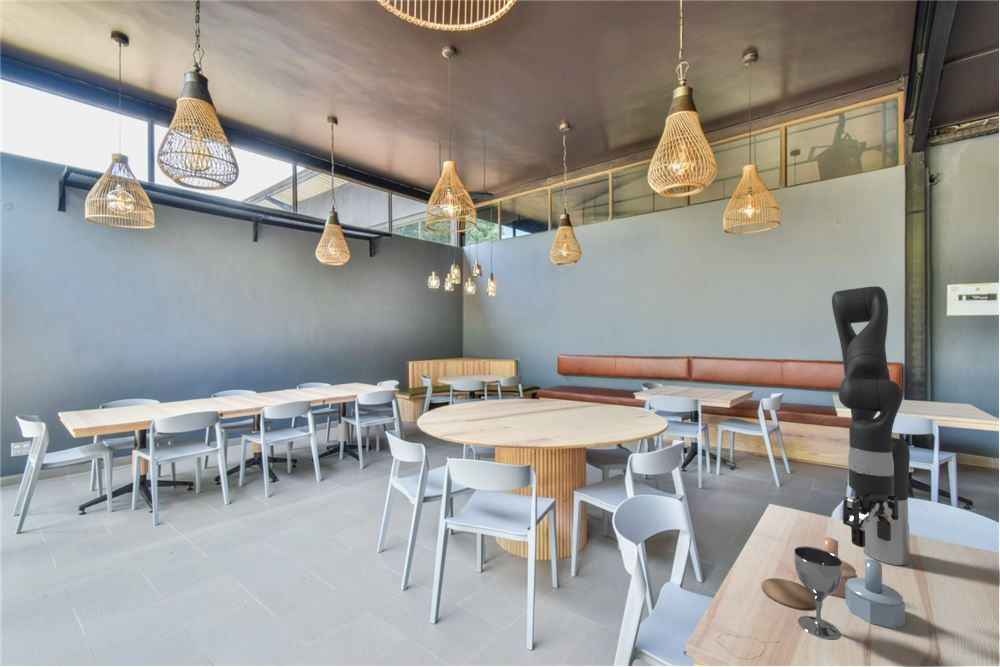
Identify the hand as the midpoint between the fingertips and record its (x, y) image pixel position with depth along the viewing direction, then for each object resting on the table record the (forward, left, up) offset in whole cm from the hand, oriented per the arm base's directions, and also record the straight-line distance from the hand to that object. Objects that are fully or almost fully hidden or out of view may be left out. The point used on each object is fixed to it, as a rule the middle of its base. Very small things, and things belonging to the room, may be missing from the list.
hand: (871, 542), depth 91 cm
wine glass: (+16, -1, -16) cm, 22 cm away
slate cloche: (0, 0, -16) cm, 16 cm away
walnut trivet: (+11, -11, -16) cm, 22 cm away
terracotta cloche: (-2, -10, -16) cm, 19 cm away
